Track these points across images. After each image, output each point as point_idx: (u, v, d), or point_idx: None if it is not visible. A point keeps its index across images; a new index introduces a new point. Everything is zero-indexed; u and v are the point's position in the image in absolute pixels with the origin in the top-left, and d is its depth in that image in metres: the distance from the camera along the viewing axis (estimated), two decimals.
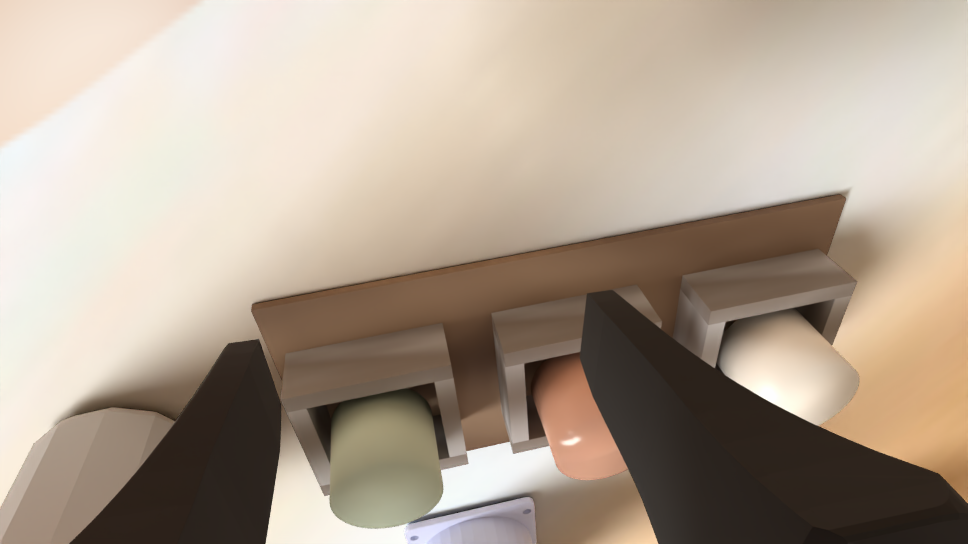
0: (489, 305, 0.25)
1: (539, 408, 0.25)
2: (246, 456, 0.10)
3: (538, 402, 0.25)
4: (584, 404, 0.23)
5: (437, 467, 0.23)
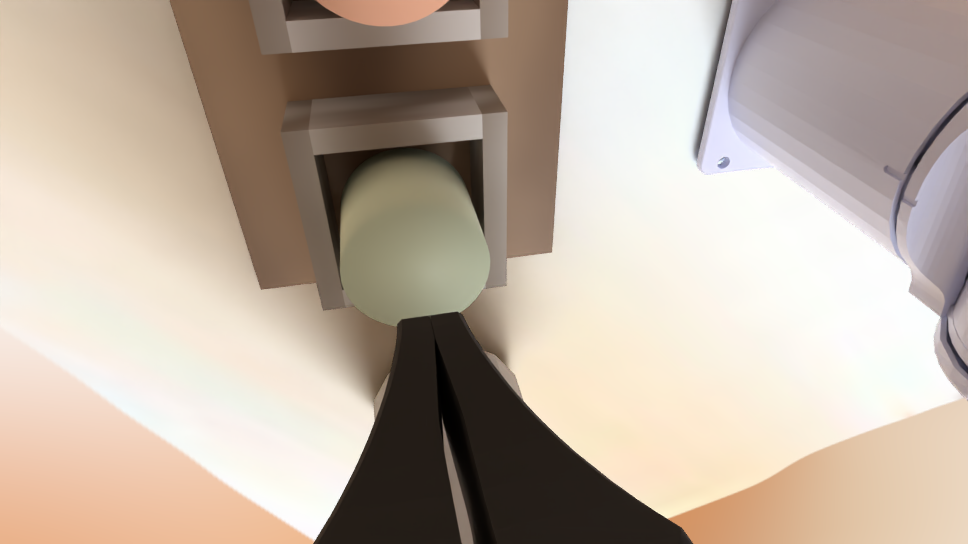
0: (256, 32, 0.17)
1: None
2: (440, 423, 0.11)
3: None
4: None
5: (387, 203, 0.16)
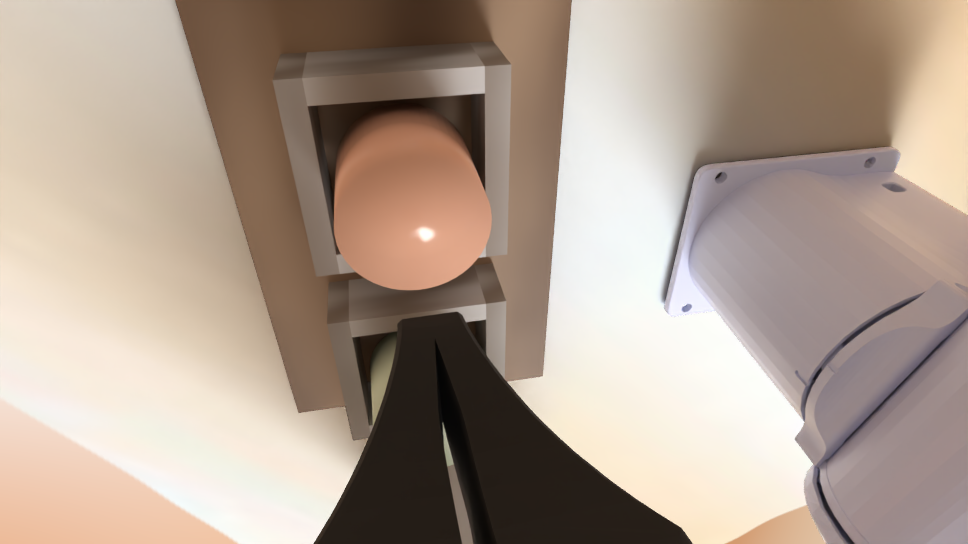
0: (307, 238, 0.22)
1: None
2: (440, 423, 0.11)
3: None
4: None
5: None
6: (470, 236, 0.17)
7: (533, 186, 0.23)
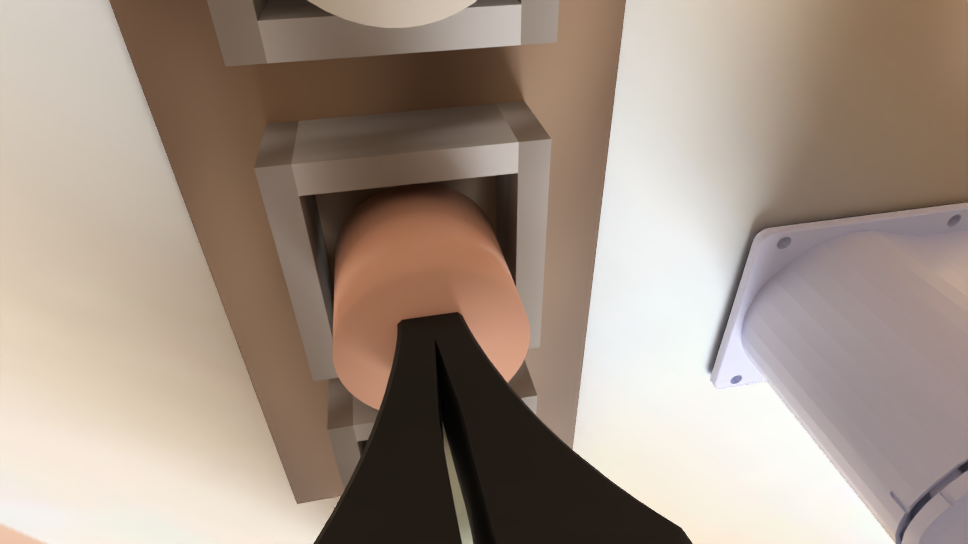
0: None
1: None
2: (440, 423, 0.11)
3: None
4: None
5: None
6: (503, 355, 0.13)
7: (567, 259, 0.19)
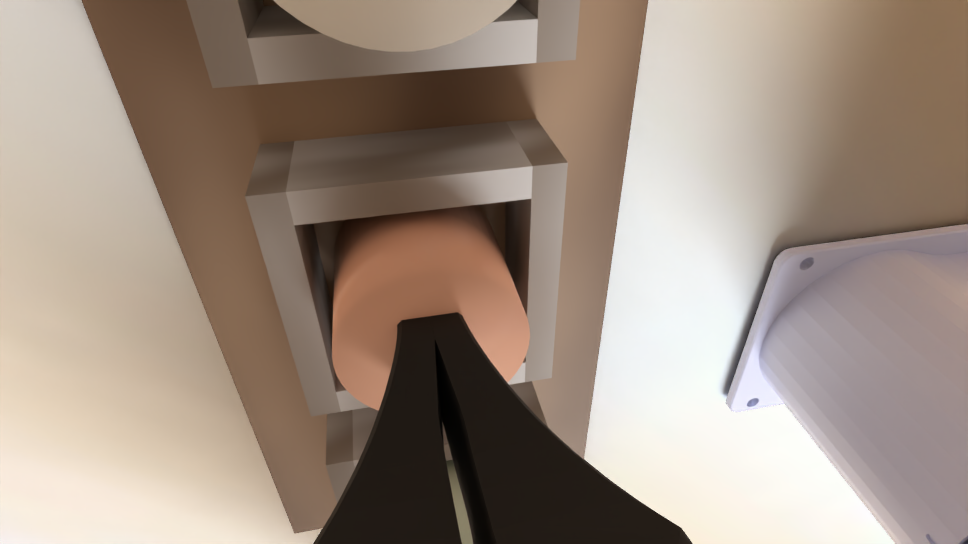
0: None
1: None
2: (440, 423, 0.11)
3: None
4: None
5: None
6: (502, 356, 0.13)
7: (579, 283, 0.18)
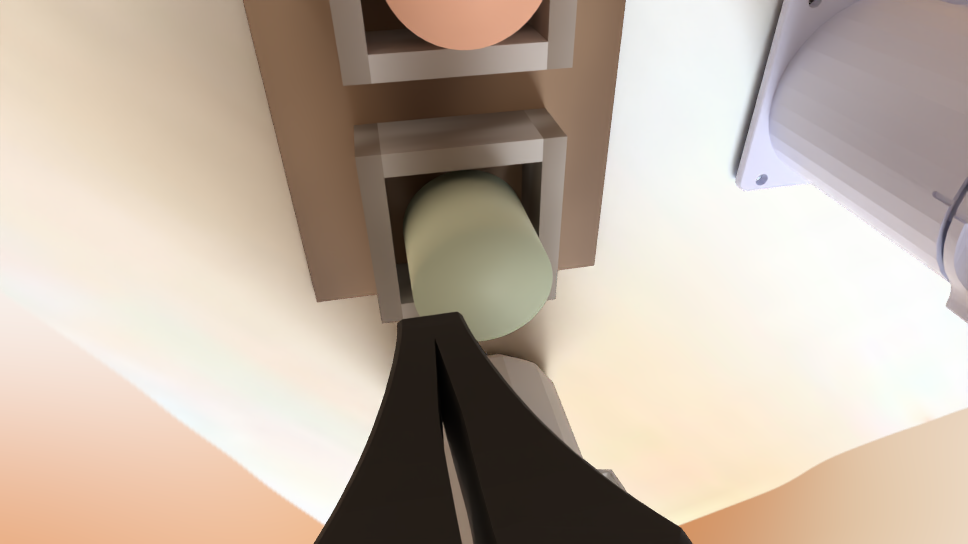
0: (329, 61, 0.18)
1: None
2: (440, 423, 0.11)
3: None
4: None
5: (460, 226, 0.17)
6: None
7: (597, 1, 0.19)
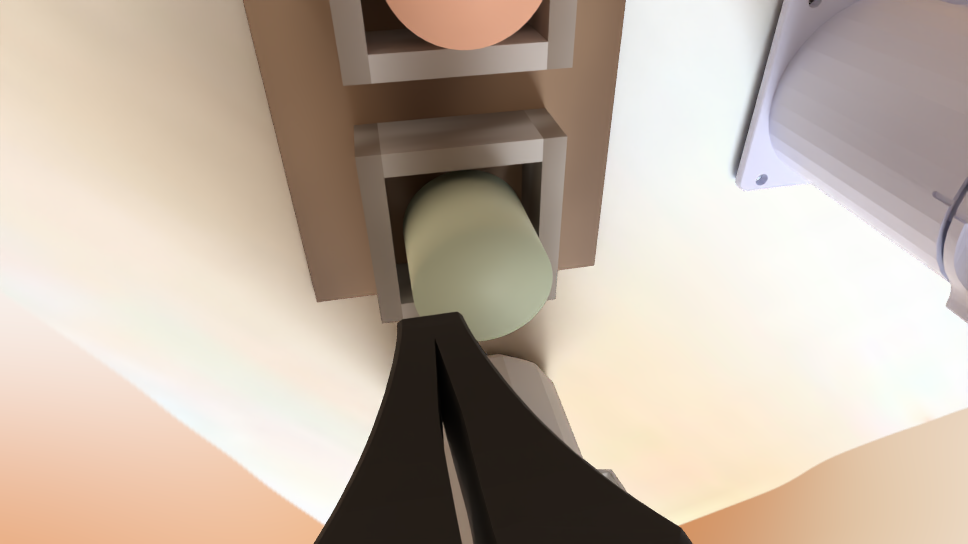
0: (329, 61, 0.18)
1: None
2: (440, 423, 0.11)
3: None
4: None
5: (460, 226, 0.17)
6: None
7: (597, 1, 0.19)
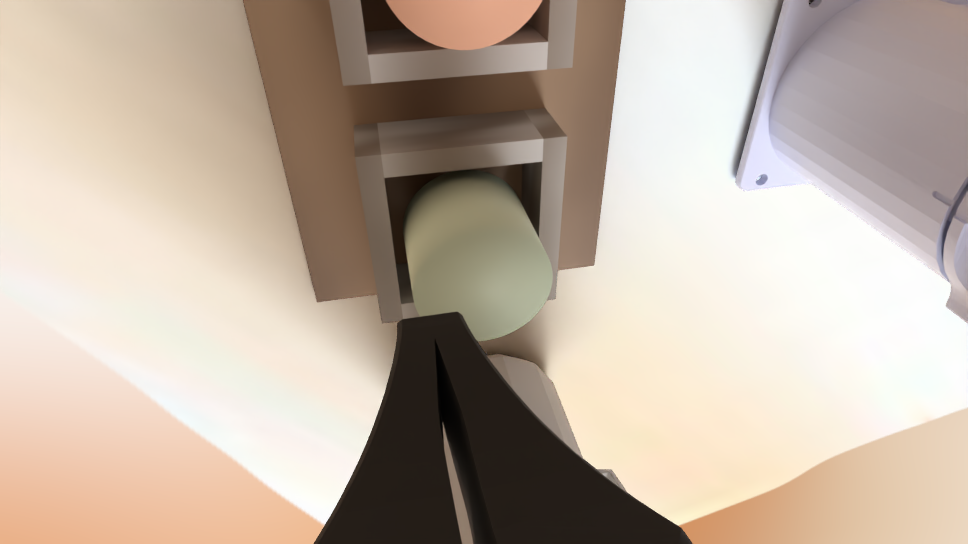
0: (329, 61, 0.18)
1: None
2: (440, 423, 0.11)
3: None
4: None
5: (460, 226, 0.17)
6: None
7: (597, 1, 0.19)
